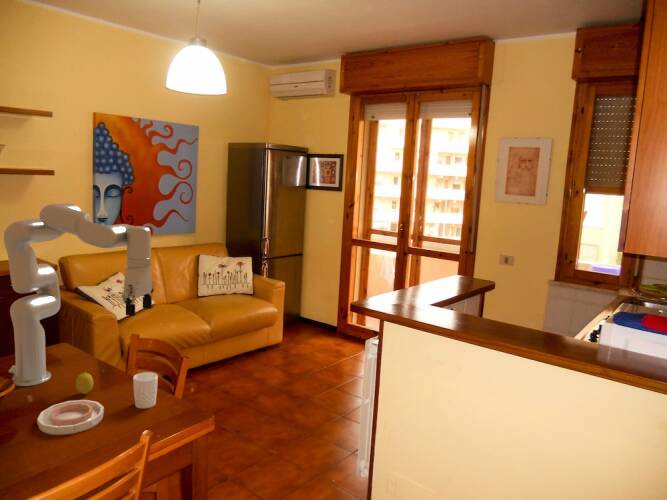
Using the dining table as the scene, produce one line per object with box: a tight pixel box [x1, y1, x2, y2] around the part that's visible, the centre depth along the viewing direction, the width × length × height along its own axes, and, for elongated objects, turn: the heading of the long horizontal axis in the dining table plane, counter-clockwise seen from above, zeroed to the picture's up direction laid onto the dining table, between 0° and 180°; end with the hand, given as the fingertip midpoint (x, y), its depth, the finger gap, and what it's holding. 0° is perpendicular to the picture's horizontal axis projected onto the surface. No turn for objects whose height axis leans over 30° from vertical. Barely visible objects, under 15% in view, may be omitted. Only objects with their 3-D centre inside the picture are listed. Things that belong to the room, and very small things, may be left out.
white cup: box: [132, 371, 159, 409], centre depth 169 cm, size 8×8×10 cm
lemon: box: [75, 372, 94, 395], centre depth 174 cm, size 6×6×8 cm
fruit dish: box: [36, 399, 105, 436], centre depth 156 cm, size 18×18×3 cm
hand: (139, 311), depth 170 cm, fingers open, 9 cm apart
